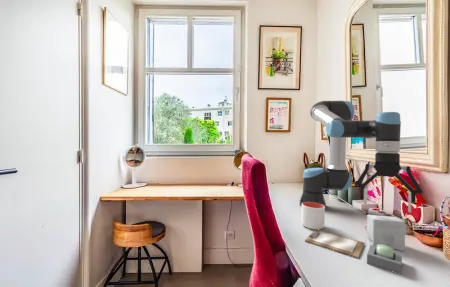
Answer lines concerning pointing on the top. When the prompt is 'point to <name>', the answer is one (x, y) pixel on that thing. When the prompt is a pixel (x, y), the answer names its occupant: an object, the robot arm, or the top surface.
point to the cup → (313, 215)
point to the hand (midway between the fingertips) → (386, 207)
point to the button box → (385, 260)
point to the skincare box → (386, 231)
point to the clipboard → (336, 243)
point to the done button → (385, 251)
